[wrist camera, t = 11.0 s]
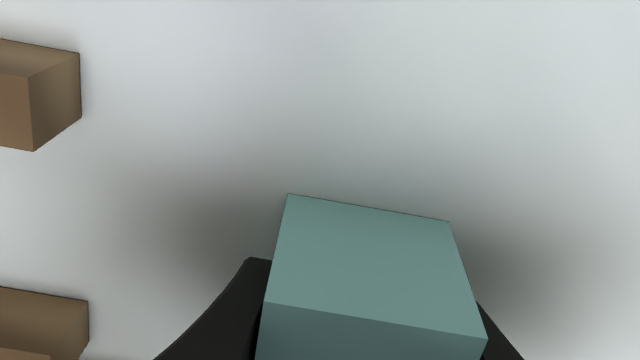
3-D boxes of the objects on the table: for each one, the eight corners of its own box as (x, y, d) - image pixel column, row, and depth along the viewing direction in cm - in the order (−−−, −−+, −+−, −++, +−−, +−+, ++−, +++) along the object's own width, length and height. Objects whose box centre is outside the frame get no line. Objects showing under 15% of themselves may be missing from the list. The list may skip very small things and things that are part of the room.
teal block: (408, 341, 14) (428, 479, 11) (267, 318, 14) (240, 449, 11) (448, 221, 13) (488, 339, 9) (287, 193, 12) (264, 301, 9)
